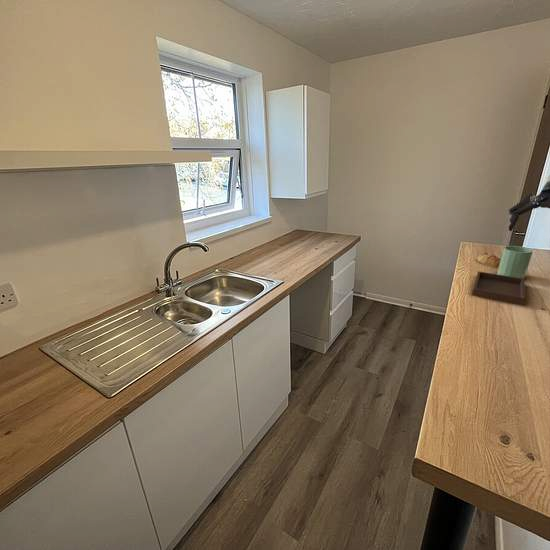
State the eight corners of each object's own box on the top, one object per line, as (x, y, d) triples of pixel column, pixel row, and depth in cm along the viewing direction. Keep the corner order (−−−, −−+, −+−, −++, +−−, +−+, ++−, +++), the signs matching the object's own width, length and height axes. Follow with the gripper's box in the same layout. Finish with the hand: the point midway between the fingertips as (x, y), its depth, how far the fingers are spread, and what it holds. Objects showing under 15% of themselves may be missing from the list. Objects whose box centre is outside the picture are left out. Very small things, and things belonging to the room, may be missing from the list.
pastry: (507, 266, 121) (510, 258, 120) (495, 269, 120) (497, 260, 118) (486, 259, 130) (488, 251, 128) (474, 261, 128) (476, 253, 126)
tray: (476, 278, 113) (478, 271, 112) (522, 286, 105) (524, 278, 104) (471, 296, 100) (473, 288, 99) (523, 306, 92) (525, 298, 91)
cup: (516, 273, 115) (524, 245, 111) (528, 281, 108) (537, 252, 104) (492, 272, 117) (499, 245, 113) (503, 281, 109) (511, 252, 105)
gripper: (602, 196, 107) (575, 245, 105) (518, 190, 126) (494, 231, 124) (604, 181, 102) (576, 233, 100) (517, 178, 121) (492, 221, 119)
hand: (531, 232), depth 112 cm, fingers open, 13 cm apart
